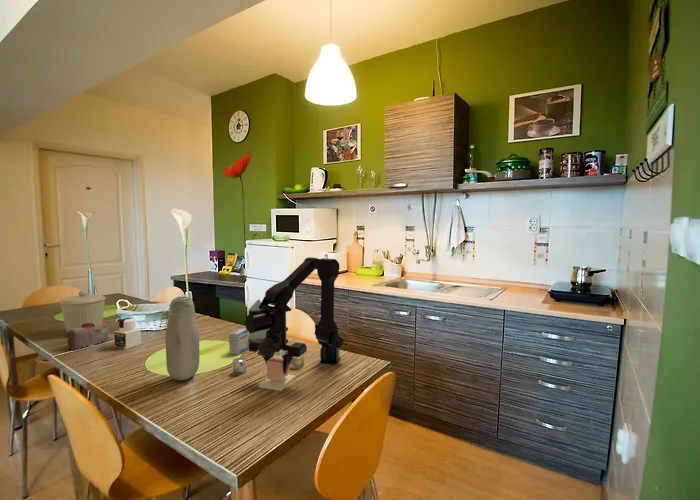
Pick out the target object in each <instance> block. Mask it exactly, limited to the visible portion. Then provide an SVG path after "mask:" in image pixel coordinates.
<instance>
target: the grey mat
mask: <svg viewBox="0 0 700 500" xmlns="http://www.w3.org/2000/svg"><path fill="white" fill-rule="evenodd" d="M295 379H296V375H294V374H289V373H288V375H287V376H286V377H285V378H284V379H282V380H281V381H278V380H271V379H267V378H266V379H264V380H263V381H261V382H260V383H258V388H263V389H267V390H275V391H283V389H285V388H286V387H287V386H288V385H290V383H291V382H293V381H294V380H295Z"/></svg>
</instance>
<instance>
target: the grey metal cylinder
mask: <svg viewBox="0 0 700 500" xmlns="http://www.w3.org/2000/svg"><path fill="white" fill-rule="evenodd" d="M246 373H247V362H246V358H244V357H237V358H233V359H232V375H233V376H234V375H235V376H240V375H244V374H246Z"/></svg>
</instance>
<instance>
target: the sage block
mask: <svg viewBox="0 0 700 500" xmlns="http://www.w3.org/2000/svg"><path fill="white" fill-rule="evenodd" d="M284 354H285V351H281V350H280V351H279V352H275V353H274V355H273V356H283V355H284Z"/></svg>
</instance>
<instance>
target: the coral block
mask: <svg viewBox="0 0 700 500" xmlns="http://www.w3.org/2000/svg"><path fill="white" fill-rule="evenodd" d="M283 363H284V360H283V358H282V356H273V357H272V358H270V359H269V360H267V365H266V379H271V380H278V381H281V380H282V379H284V378H285V377H286V376H287V375H288V374H289V369H288V370H287V372H286V374H284V372H283Z"/></svg>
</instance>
